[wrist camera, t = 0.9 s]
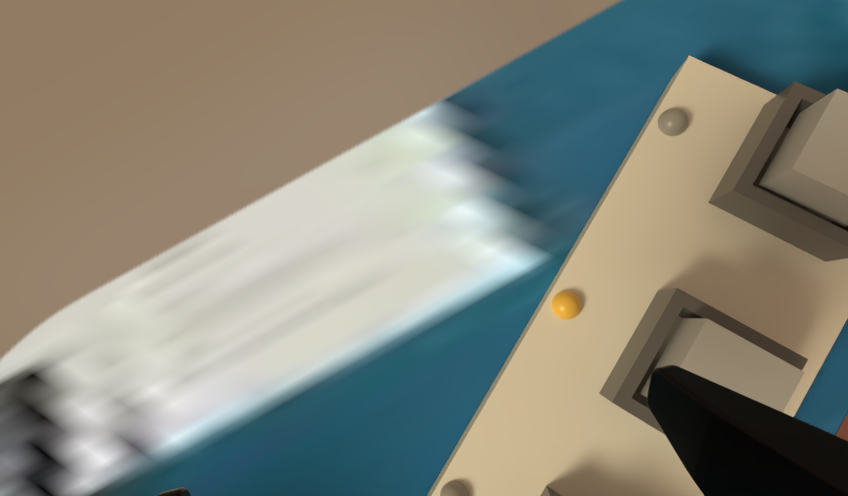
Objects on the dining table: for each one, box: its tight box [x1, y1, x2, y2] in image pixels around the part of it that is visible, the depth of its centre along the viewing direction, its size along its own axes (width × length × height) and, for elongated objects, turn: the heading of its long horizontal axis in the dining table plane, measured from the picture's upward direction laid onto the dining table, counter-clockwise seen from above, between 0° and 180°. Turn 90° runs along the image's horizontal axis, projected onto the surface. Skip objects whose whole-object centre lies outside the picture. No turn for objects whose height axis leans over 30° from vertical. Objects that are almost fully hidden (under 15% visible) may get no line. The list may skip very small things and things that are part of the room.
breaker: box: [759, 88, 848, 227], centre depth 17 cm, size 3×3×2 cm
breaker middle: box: [640, 318, 804, 412], centre depth 16 cm, size 3×3×2 cm
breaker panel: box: [427, 56, 848, 496], centre depth 19 cm, size 10×24×4 cm, turn 149°
